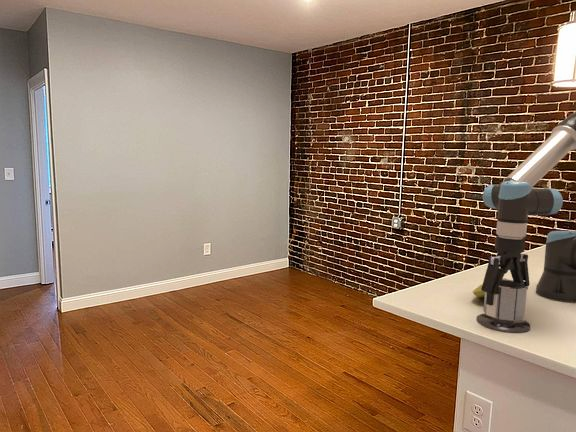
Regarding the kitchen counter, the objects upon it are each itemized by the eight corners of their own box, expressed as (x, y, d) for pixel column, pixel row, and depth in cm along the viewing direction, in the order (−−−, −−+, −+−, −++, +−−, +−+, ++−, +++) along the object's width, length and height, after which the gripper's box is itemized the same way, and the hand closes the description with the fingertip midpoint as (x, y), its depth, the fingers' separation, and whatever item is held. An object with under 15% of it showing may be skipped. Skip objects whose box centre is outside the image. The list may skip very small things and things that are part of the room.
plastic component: (481, 284, 158) (510, 276, 152) (489, 304, 156) (518, 297, 151) (469, 293, 141) (500, 285, 136) (477, 315, 140) (510, 308, 134)
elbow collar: (530, 317, 123) (533, 286, 122) (507, 322, 119) (510, 290, 118) (499, 306, 132) (502, 277, 131) (476, 310, 128) (479, 280, 126)
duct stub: (511, 314, 133) (512, 296, 133) (541, 332, 119) (543, 313, 119) (467, 315, 132) (468, 297, 131) (493, 333, 118) (494, 314, 117)
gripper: (524, 232, 131) (517, 304, 134) (471, 236, 121) (464, 314, 124) (548, 236, 124) (541, 311, 127) (494, 241, 114) (487, 323, 117)
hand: (503, 313), depth 125 cm, fingers closed on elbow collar, 10 cm apart
